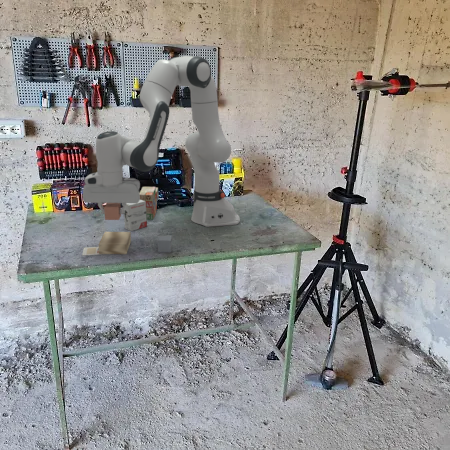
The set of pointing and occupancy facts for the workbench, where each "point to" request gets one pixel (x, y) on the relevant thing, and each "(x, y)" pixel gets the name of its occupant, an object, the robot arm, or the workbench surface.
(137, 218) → the ink box
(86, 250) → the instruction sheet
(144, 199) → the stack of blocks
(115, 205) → the terracotta brick
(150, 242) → the workbench surface
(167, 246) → the grey brick
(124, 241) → the base brick
